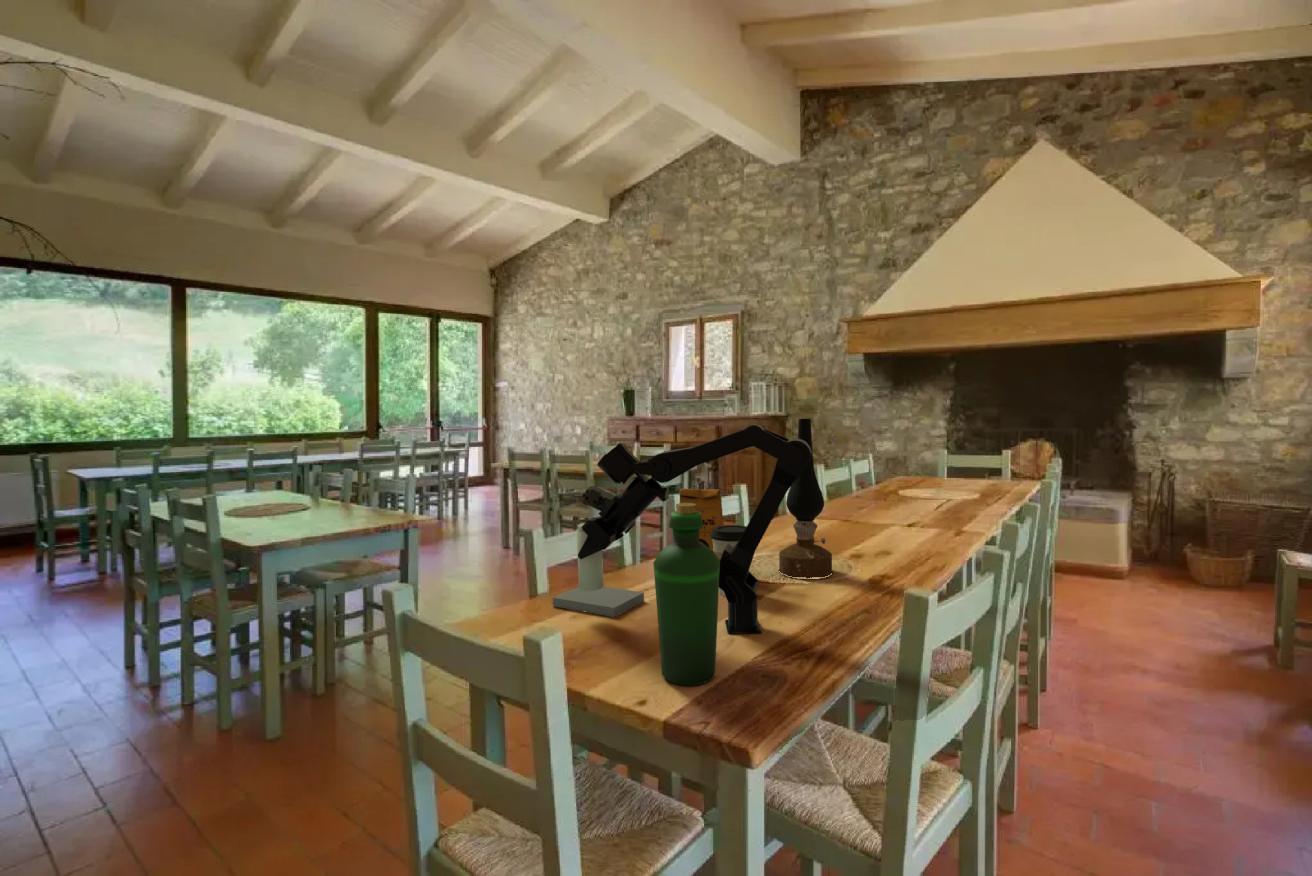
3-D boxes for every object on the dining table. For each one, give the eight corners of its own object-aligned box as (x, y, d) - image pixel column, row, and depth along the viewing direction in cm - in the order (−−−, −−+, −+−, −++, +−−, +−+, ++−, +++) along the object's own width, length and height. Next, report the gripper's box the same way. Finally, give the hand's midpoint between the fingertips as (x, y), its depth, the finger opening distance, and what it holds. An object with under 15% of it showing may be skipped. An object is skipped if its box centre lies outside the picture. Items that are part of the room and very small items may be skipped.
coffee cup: (753, 587, 155) (752, 524, 154) (755, 599, 145) (754, 532, 144) (711, 586, 156) (710, 524, 155) (710, 599, 146) (709, 532, 145)
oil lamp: (797, 595, 159) (796, 437, 148) (765, 570, 173) (761, 423, 162) (845, 582, 164) (847, 427, 153) (809, 558, 177) (809, 415, 167)
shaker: (600, 590, 132) (598, 526, 131) (576, 590, 132) (573, 527, 131) (605, 583, 137) (603, 521, 136) (582, 583, 137) (579, 522, 136)
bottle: (717, 661, 111) (715, 498, 110) (726, 689, 101) (723, 509, 99) (654, 663, 111) (651, 500, 109) (656, 692, 100) (653, 511, 99)
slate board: (644, 601, 146) (643, 592, 146) (614, 617, 135) (614, 607, 135) (585, 591, 154) (585, 583, 153) (553, 606, 143) (552, 597, 143)
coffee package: (722, 580, 161) (721, 491, 160) (674, 577, 165) (672, 490, 164) (731, 570, 170) (730, 486, 169) (685, 567, 174) (684, 485, 173)
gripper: (618, 468, 141) (572, 518, 144) (589, 478, 123) (538, 535, 126) (655, 504, 140) (608, 554, 143) (631, 520, 122) (578, 577, 125)
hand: (583, 554), depth 134 cm, fingers closed on shaker, 5 cm apart
